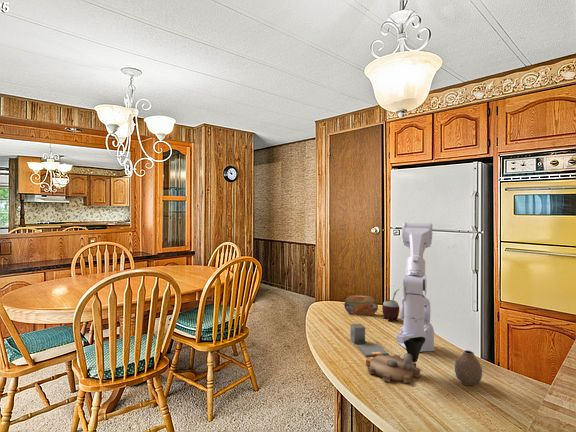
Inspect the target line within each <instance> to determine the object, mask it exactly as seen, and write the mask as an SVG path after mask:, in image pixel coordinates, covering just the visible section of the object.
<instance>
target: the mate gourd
mask: <svg viewBox="0 0 576 432" xmlns="http://www.w3.org/2000/svg"><path fill="white" fill-rule="evenodd" d="M398 291H400V288H398V289H396V290H395V291H394V293H393V296H392V299H385V300H384V301H383V303H382V316H383V319H384V320H387V322H389V323H390V322H391V321H395V322H398V321H399V319H398V318H399V316H400V305H399V303H398V301H396V300H395V297H396V295H397V292H398Z"/></svg>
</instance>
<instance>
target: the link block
mask: <svg viewBox="0 0 576 432" xmlns="http://www.w3.org/2000/svg"><path fill="white" fill-rule="evenodd" d="M350 342H351V343H353V345H364V344H366V327H365V326H364V325H363V324H362V323H350Z"/></svg>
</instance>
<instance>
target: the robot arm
mask: <svg viewBox="0 0 576 432" xmlns="http://www.w3.org/2000/svg"><path fill="white" fill-rule="evenodd" d="M401 232H402V235H401V237H402V243H403V246H406V247H407V248H408V249H409V252H410V255H409V256H408V257H407V258H406V260H405V271H404V272H405V273H404V274H405V275H404V277H403V278H402V293H403V297H402V298H401V300H400V301H401V302H400V307H399V316H400V319H401V320H402V321H403V325H402V326H400V328H399V329H400V332H399V333H398V334H396V337H395V338H396V341H395V342H396V343H398V344H399V345H400V346H401V347H403V348H404V349H405V350H406V352H407V354H411V355H412V362H415V363H417V362H418V359H419V356H420V353H422V352H423V353H424V352H434V351H435V350H436V349H435V348H434V340H435V331H434V327H433V325H432V323H431V302H430V300H429V299H428V298H427V296H426V295H427V277H426V260H425V259H424V254H425V251H426V249H428V248H430V247H431V245H432V241H433V224H432V223H431V222H429V223H427V222H407V221H405V222H403V223H402V231H401Z"/></svg>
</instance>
